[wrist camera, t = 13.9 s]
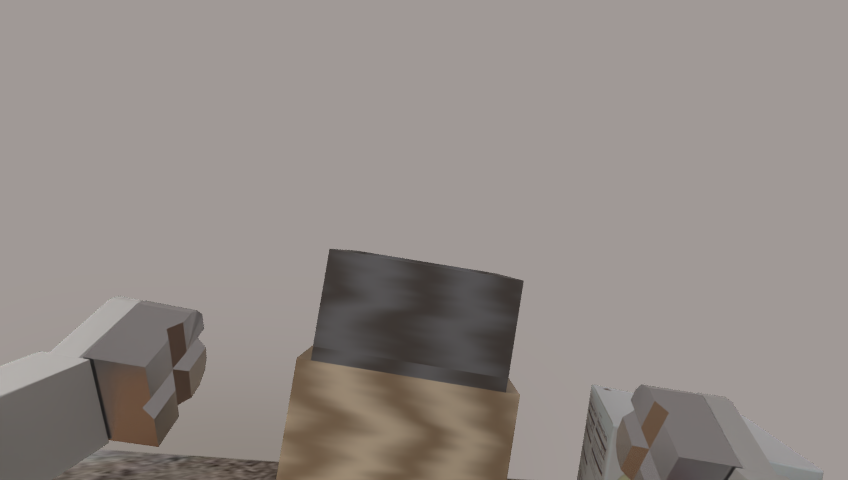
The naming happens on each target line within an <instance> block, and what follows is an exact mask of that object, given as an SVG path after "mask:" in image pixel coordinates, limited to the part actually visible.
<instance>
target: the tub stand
mask: <svg viewBox="0 0 848 480" xmlns="http://www.w3.org/2000/svg"><path fill="white" fill-rule="evenodd" d="M522 288H523V281H522V280H519V279H515V278H511V277H507V276H503V275H499V274H495V273H489V272H483V271H477V270H471V269H464V268H459V267H453V266H447V265H440V264H434V263H428V262H422V261H415V260H409V259H404V258H398V257H392V256H385V255H379V254H373V253H367V252H361V251H353V250H338V249H330V250H329V255H328V262H327V268H326V273H325V279H324V285H323V291H322V297H321V303H320V309H319V314H318V320H317V327H316V332H315V338H314V344H313V346H311V347H310V348H309V349H308V350H306V351H305V352H304V353H303V354H301V355H300V356H299V357H297V360H296V366H295V372H294V378H293V384H292V390H291V395H290V401H289V408H288V413H287V419H286V425H285V430H284V436H283V443H282V448H281V454H280V460H279V466H278V472H277V477H276V480H507V474H508V468H509V462H510V455H511V448H512V443H513V436H514V430H515V423H516V417H517V410H518V403H519V397H520V394H519V393H518V392H517V390H516V389H515V387H514V386H513V384H512V383H511V381H510V380H509V378H508V376H509V370H510V364H511V357H512V350H513V345H514V338H515V332H516V326H517V319H518V313H519V307H520V300H521V294H522Z"/></svg>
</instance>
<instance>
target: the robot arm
mask: <svg viewBox="0 0 848 480" xmlns="http://www.w3.org/2000/svg"><path fill="white" fill-rule="evenodd" d="M203 329H204V325H203V318H202V314H201V313H200V312H198V311H197V310H192V309H187V308H182V307H176V306H171V305H166V304H161V303H155V302H150V301H141V300H137V299H132V298H126V297H121V296H118V297H114V298H111V299H109V300H108V301H107V302H106V303H105V304H104V305H102V306H101V307H100V308H99V309H98V310H97V311H96V312H94V313H93V314H92V315H91V316H90V317H89V318H88V319H87V320H85V321H84V322H83V323H82V324H81V325H80V326H79V327H77V329H75V330H74V331H73V332H72V333H71V334H70V335H68V337H66V338H65V339H64V340H63V341H62V342H60V343H59V344H58V345H57V346H56V347H55V348H54V349H53V350H51V351H50V352H49V353H47V352H41V351H39V352H37V353H34V354H32V355H29V356H26V357H23V358H21V359H18V360H15V361H12V362H10V363H7V364H4V365H2V366H0V480H53V479H54V478H56V477H57V476H59V475H60V474H62V473H63V472H65V471H66V470H68V469H70V468H71V467H73V466H74V465H76V464H77V463H79V462H80V461H82V460H83V459H85V458H86V457H88V456H89V455H91V454H92V453H94V452H96V451H97V450H99V449H100V448H102V447H103V446H105V445H106V444H108V443H109V440H113V441H121V442H127V443H134V444H142V445H149V446H156V447H159V445H160V444H161V442H162V441H163V439H164V438H165V436H166V435H167V433H168V432H169V430H170V429H171V427H172V426H173V424H174V423H175V421H176V420H177V419H178V417H179V413H178V405H179V404H180V403H182V402H184V401H186V400H187V399H189V398H191V397H192V396H193V394H194V393H195V391H196V390H197V388H198V386H199V385H200V382H201V379H202V377H203V374H204V371H205V365H206V347H205V346H204V345H203V344H202V342H201V341H200V340H199V339H198V338H197V337H198V336H199V335H200V333H201V332H202V331H203ZM631 402H632V405H633V407H634V411H632V412H630V413H629V414H627V415H625V416H624V417H623V418H622V420H621V423H620V425H619V427H618V430H617V438H616V452H617V459H618V462H619V466H620V469H621V471H622V472H623V473H624V474H625V475H626V476H627V477H628V478H629V479H630V480H790V479H789V478H788V477H786V476H781V475H777V474H776V472H775V471H774V469H773V467H772V466H771V464H770V463H769V461H768V459H767V458H766V456H765V454H764V453H763V451H762V450H761V448H760V446H759V445H758V443H757V441H756V440H755V438H754V437H753V435H752V433H751V432H750V430H749V428H748V427H747V425H746V424H745V422H744V420H743V419H742V417H741V415H740V414H739V412H738V411H737V409H736V407H735V406H734V404H733V403H732V402H731V401H730V400H729V399H727V398H726V397H723V396H716V395H708V394H702V393H692V392H685V391H679V390H673V389H666V388H659V387H654V386H648V385H640V386H639V387H638V388H637V389H636V390H635V392H634V394H633V396H632V398H631Z"/></svg>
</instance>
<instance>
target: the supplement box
mask: <svg viewBox="0 0 848 480" xmlns="http://www.w3.org/2000/svg"><path fill="white" fill-rule="evenodd" d="M633 394H634V393H633V392H628V391H622V390H617V389H612V388H608V387H603V386H598V385H592V387H591V393H590V401H589V407H588V414H587V420H586V427H585V433H584V440H583V446H582V452H581V459H580V465H579V471H578V477H577V480H630V479H629V478H628V477H627V476H626V475H625V474H624V473H623V472H622V471H621V469H620V466H619V462H618V459H617V452H616V438H617V430H618V427H619V425H620V423H621V420H622V418H623V417H624V416H625V415H627V414H629V413H630V412H632V411H634V407H633V405H632V402H631V398H632V396H633ZM741 417H742V419H743V420H744V422H745V424H746V425H747V427H748V428H749V430H750V432H751V433H752V435H753V437H754V438H755V440H756V441H757V443H758V445H759V446H760V448H761V450H762V451H763V453H764V454H765V456H766V458H767V459H768V461H769V463H770V464H771V466H772V467H773V469H774V471H775V472H776V474H777V475H781V476H786V477H788V478H789V479H790V480H822V478H823V470H821V469H820V468H819V467H817V466H816V465H814V464H813V463H812V462H810V461H809V460H807V459H806V458H804V457H803V456H801V455H800V454H798V453H797V452H796V451H794V450H793V449H791V448H790V447H788V446H787V445H785V444H784V443H782V442H781V441H780V440H778V439H777V438H775V437H774V436H772V435H771V434H770V433H768V432H767V431H765V430H764V429H762V428H761V427H759V426H758V425H757V424H755V423H754V422H752V421H751V420H749V419H748V418H746V417H745V416H743V415H741Z"/></svg>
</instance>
